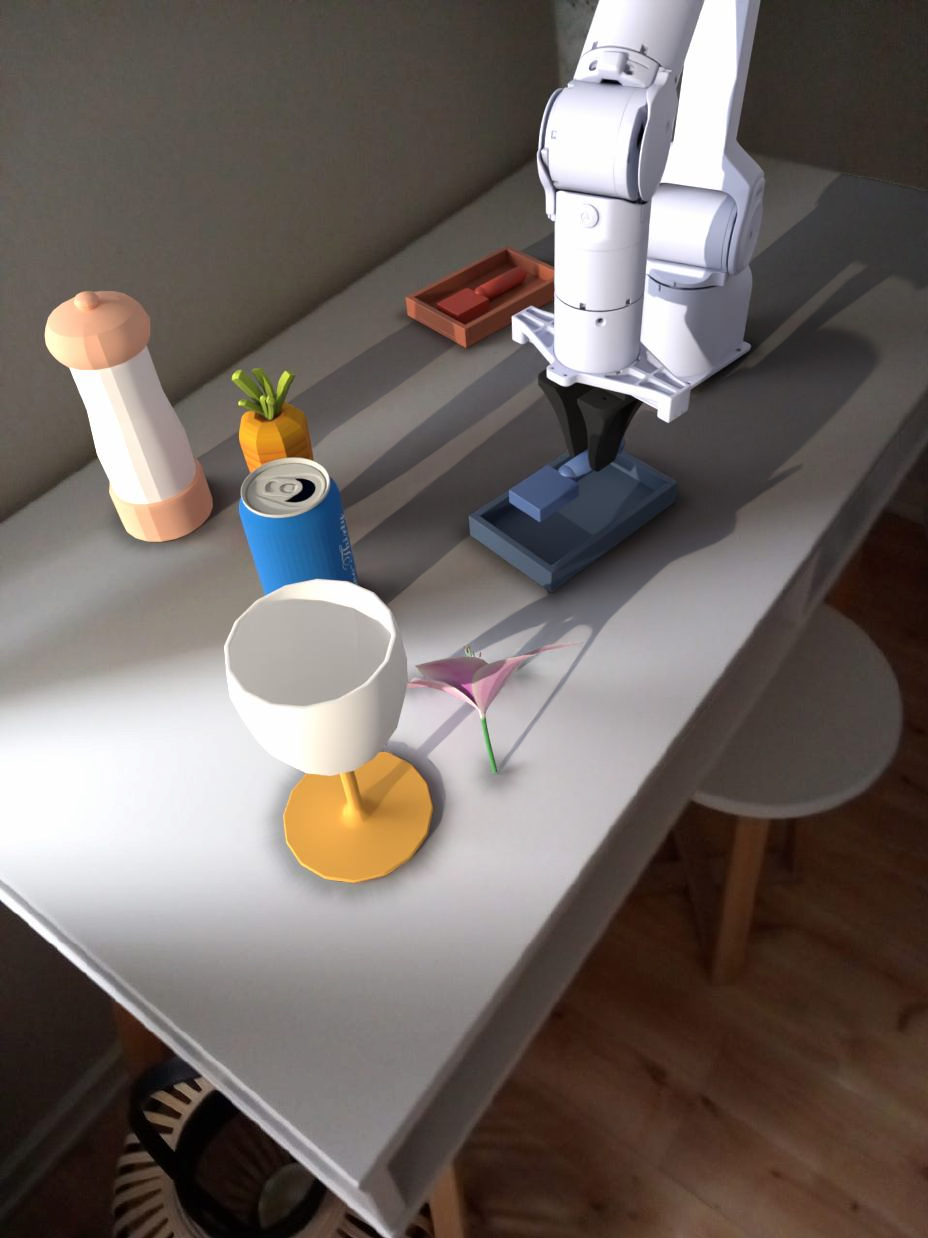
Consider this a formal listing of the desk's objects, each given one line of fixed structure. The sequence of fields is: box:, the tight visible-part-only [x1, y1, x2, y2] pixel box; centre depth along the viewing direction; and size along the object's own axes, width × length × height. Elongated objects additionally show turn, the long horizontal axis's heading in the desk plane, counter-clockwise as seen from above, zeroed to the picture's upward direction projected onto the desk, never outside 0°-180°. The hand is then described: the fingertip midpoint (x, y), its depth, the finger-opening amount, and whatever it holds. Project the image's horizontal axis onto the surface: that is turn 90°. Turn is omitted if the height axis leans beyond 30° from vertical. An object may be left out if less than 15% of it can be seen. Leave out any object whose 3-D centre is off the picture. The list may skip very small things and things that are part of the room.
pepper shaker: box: [44, 290, 214, 543], centre depth 71 cm, size 7×7×19 cm
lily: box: [407, 641, 583, 774], centre depth 60 cm, size 12×12×10 cm
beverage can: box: [238, 458, 360, 596], centre depth 65 cm, size 6×6×12 cm
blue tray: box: [468, 450, 679, 593], centre depth 74 cm, size 14×9×2 cm, turn 132°
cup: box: [223, 579, 434, 884], centre depth 53 cm, size 9×9×16 cm
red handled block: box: [437, 267, 526, 324], centre depth 96 cm, size 10×3×2 cm, turn 132°
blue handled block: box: [508, 437, 626, 522], centre depth 71 cm, size 10×3×2 cm, turn 132°
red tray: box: [405, 245, 555, 349], centre depth 96 cm, size 14×9×2 cm, turn 132°
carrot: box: [231, 367, 315, 474], centre depth 70 cm, size 5×5×15 cm
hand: (592, 457), depth 72 cm, fingers closed on blue handled block, 1 cm apart
